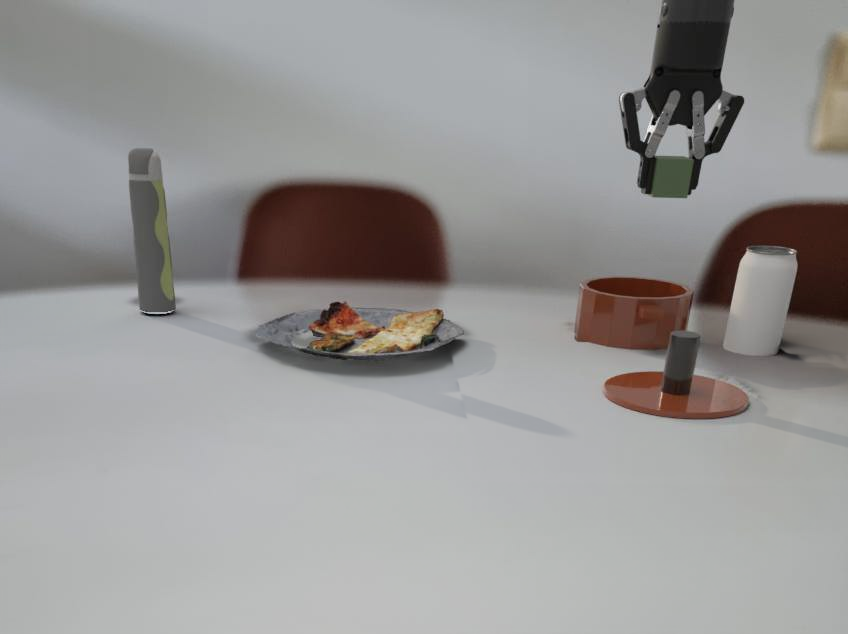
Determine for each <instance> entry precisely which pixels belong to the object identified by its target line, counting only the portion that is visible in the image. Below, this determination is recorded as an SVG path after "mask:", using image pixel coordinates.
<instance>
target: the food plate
mask: <svg viewBox="0 0 848 634" xmlns="http://www.w3.org/2000/svg"><path fill="white" fill-rule="evenodd" d="M444 317H445V314H444V311H443V310H442V309H439V308H434V309H433V308H432V309H429V310H421V311H415V312H414V311H407V310H404V309H403V310H402V309H395V308H383V307H351V306H350V305H349V304H348V302H347V301H346V300H343V302H340V301H334V302H331V303H330V304H329V307H328V308H324V309H316V310H315V309H313V310H310V311H308V310H307V311H302V312H292V313H289V314H285V315H282V316H280V317H277V318H275V319H272V320H270V321H268V322H265V323H262V324H260V325H258V326H257V328H256V329H255V332H254V334H255V337H257V338H258V339H260V340H262V341H263V340H266V341H269V342H271V343H273V344H275V345H277V346H280V347H282V348H286V349H287V347H288V348H290V349H293V350H296V351H299V352H300V353H303V354H306V355H310V356H313V355H314V356H313V357H320V356H321V358H325V357H328V358H330V359H333V360H341V361H347V360H352V361H357V362H359V361H366V362H368V363H370V362H371V361H372V362H374V363H377V364H378V363H384V362H385V361H386V360H388V359H396V355H401V354H402V355H401V357H405V356H407V355H410V356H414V355H415V354H416V353H417V354H418V353H423V352H430V351H434V350H436V349H438V348H439V347H442V346H444V345H445V346H446V345H447V344H449V343H451V342H452V341H453V340H456V339H457V338H458V337H460V336H463V335H464V329H462V327H460V326H459V325H457V324H455V323H454V322H452V321H451V320H450V319H447V318H444ZM302 329H306V330H304V331H303V332H302V333H306V332H308V331H312V333H313V336H316V337H322V338H320V340H314V341H312V342H310V343H309V344H308V346H307V348H299V347H296V346H293V345H292V343H291V342H292V340H293V339H292V338H294V337H295V336H294V335H293V332H296V335H300V333H297V331H299V330H302ZM289 332H292V334H290V333H289ZM369 338H371V339H369ZM328 358H327V359H328Z"/></svg>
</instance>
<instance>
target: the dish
mask: <svg viewBox="0 0 848 634" xmlns="http://www.w3.org/2000/svg"><path fill="white" fill-rule="evenodd" d="M578 289H579V290H578V295H577V305H576V313H575V321H574V330H573V333H574V339H575V340H576V342H578V343H590V344H594V345H599V346H602V347H607V348H616V349H622V350H623V349H624V350H635V351H636V350H637V351H639V350H641V351H656V350H665V349H668V343H669V337H670V333H671V332H673V331H688V326H689V322H690V316H691V315H690V314H691V310H692V306H693V300H694V293H695V290H694V289H693V288H691V287H690V286H689V285H686V284H682V283H679V282H676V281H671V280H666V279H660V278H655V277H654V278H652V277H640V276H621V275H620V276H619V275H618V276H616V275H615V276H613V275H612V276H598V277H592V278H589V279H585V280H583V281H582V282H581V283H580V284H579V288H578Z"/></svg>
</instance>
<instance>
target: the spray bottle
mask: <svg viewBox="0 0 848 634" xmlns="http://www.w3.org/2000/svg"><path fill="white" fill-rule="evenodd" d="M127 166H128V168H127V169H128V171H127V172H128V192H129V202H130V215H131V220H132V228H133V230H132V231H133V248H134V249H133V250H134V261H135V270H136V278H137V296H138V297H137V298H138V308H139V311H140V310H142V311H145V312H168V311H172V310H175V311H176V308H177V304H176V303H177V302H176V295H175V294H176V293H175V287H174V278H173V264H172V263H173V262H172V253H171V241H170V234H169V229H168V212H167V210H168V209H167V200H166V191H165V188H164V180H163V179H164V177H163V171H162V160H161V157H160V154H159V153H158V151H156V150H154V149H153V148H149V147H135V148H132V149H130V150H129V152H128V155H127Z"/></svg>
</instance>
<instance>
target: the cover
mask: <svg viewBox="0 0 848 634" xmlns="http://www.w3.org/2000/svg"><path fill="white" fill-rule="evenodd" d="M701 337H702V335H701V334H700V333H699V332H695V331H692V330H687V331H673V332H671V333H670V337H669V343H668V348H667V350H666V355H665V361H664V367H663V371H657V370H655V371H654V370H653V371H651V370H649V371H634V372H626V373H621V374H617V375H614V376H612V377H610V378H608V379H606V381H605V382H604V384H603V388H602V393H603V395H604V396H605V398H607V399H608V400H609V401H611V402H613V403H614V404H616V405H618V406H621V407H622V408H626V409H629V410H632V411H636V412H640V413H644V414H648V415H653V416H660V417H667V418H677V419H692V420H697V419H698V420H701V419H702V420H704V419H705V420H706V419H717V418H725V417H731V416H735V415H737V414H740V413H742V412H744V411H745V410H746V409H747V408H748V406H749V399H750V397H749V395H748V394H747V393H746V392H745V391H744V390H743V389H742V388H739V387H738V386H736V385H734V384H731V383H729V382H726V381H722V380H721V379H720V380H719V379H716V378H713V377H712V378H711V377H708V376H703V375H699V374H698V375H697V374H695V369H696V363H697V358H698V354H699V348H700V343H701Z"/></svg>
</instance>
